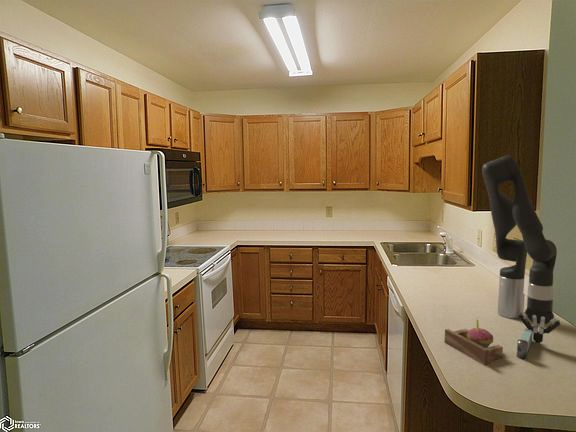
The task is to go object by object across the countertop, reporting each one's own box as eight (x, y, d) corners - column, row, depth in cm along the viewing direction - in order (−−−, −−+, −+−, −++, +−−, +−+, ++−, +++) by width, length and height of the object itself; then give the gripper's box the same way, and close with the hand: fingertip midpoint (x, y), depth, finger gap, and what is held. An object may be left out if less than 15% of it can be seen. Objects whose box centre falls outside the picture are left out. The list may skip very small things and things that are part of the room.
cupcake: (481, 356, 128) (483, 323, 126) (460, 346, 136) (462, 314, 134) (498, 351, 132) (500, 318, 130) (477, 341, 139) (478, 310, 138)
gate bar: (526, 354, 128) (527, 344, 127) (518, 352, 129) (519, 342, 129) (532, 339, 138) (532, 330, 138) (524, 338, 140) (525, 328, 139)
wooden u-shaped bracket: (463, 337, 142) (463, 325, 141) (504, 359, 126) (505, 345, 125) (444, 342, 139) (444, 329, 138) (484, 365, 123) (485, 350, 122)
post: (520, 354, 129) (521, 338, 128) (528, 358, 126) (530, 342, 125) (514, 355, 128) (515, 340, 127) (522, 360, 125) (523, 344, 124)
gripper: (516, 295, 133) (515, 341, 135) (562, 302, 125) (560, 351, 127) (519, 289, 139) (517, 334, 141) (563, 296, 131) (561, 343, 133)
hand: (537, 342), depth 134 cm, fingers closed
